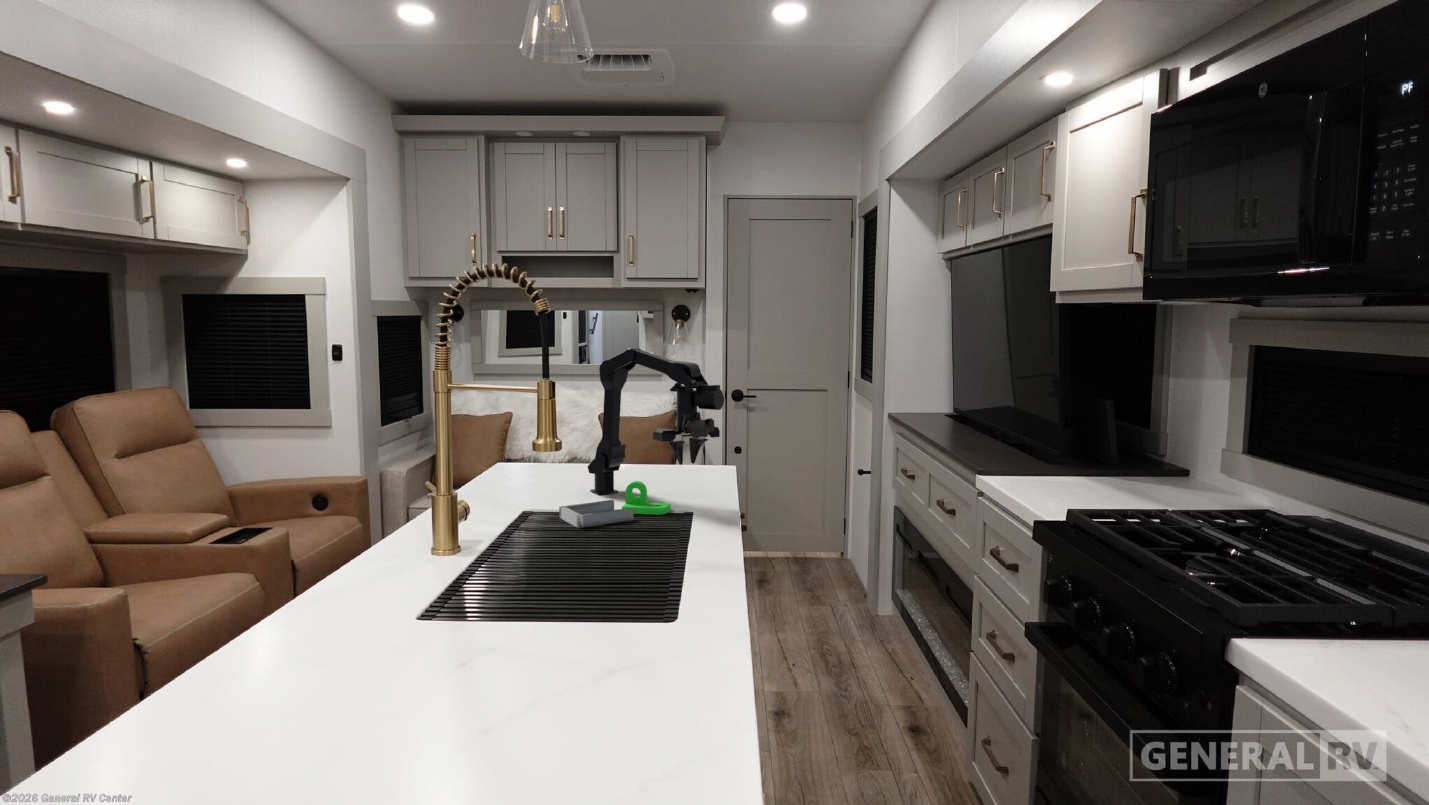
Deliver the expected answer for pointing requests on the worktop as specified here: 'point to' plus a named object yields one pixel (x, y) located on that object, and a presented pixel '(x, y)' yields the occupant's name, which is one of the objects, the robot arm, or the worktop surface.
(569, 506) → the seating bracket
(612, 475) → the robot arm
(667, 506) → the mechanical part
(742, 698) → the worktop surface
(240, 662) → the worktop surface
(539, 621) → the worktop surface
